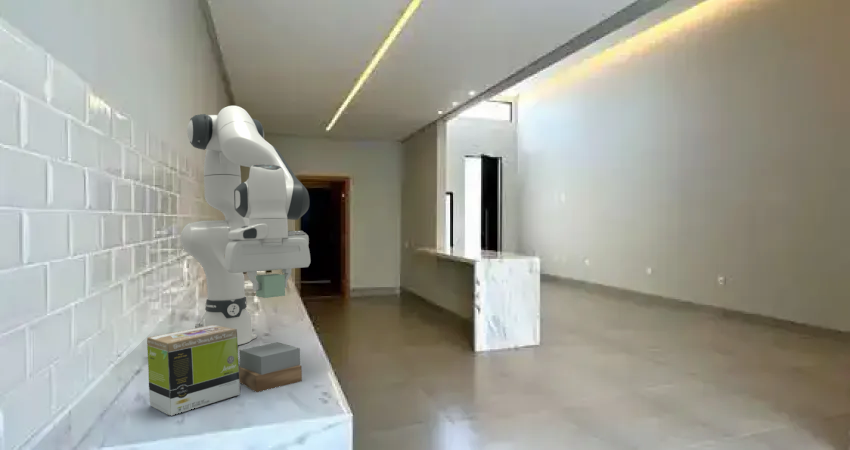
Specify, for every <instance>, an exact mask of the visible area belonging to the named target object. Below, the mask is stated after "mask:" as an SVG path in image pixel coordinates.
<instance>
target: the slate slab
mask: <svg viewBox="0 0 850 450" xmlns="http://www.w3.org/2000/svg"><path fill="white" fill-rule="evenodd" d="M298 365H300V366H301V350H300V347H297V346H293V345H289V344H286V343H281V342H273V343H267V344H262V345H257V346H252V347H248V348H244V349H239V366H240V367H241V368H244V369H247V370H250V371H252V372H255V373H258V374H261V375H263V374H267V373H271V372H275V371H279V370H283V369H286V368H290V367H294V366H298Z"/></svg>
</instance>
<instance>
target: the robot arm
mask: <svg viewBox="0 0 850 450" xmlns="http://www.w3.org/2000/svg"><path fill="white" fill-rule="evenodd" d="M264 131H265V130H264V126H263V125H262V122H261V121H259V120H258V119H255V118H252V117H251V115H250V114H249V113H248V111H247V110H246V109H244V108H242V107H241V106H238V105H228V106H226V107H225V106H224V107H223V108H221V110H219V112H218V114H206V113H202V114H201V113H200V114H195V115H193V116H192V117H191V118H190V120H189V122H188V124H187V128H186V133H187V137H188V140H189V143H190V144H191V146H192V147H193V148H196V149H198V150H203V151H205V155H204V163H203V165H204V166H203V185H204V187H203V188H204V191H203V192H204V199H205V202H206V203H207V204H208V205H209V206H210V207H212V208H213V209H216V210H218V211H219V212H221V213H222V214H223V216H224V220H222V219H221V220H219V219H218V220H217V219H216V220H214V219H213V220H199V221H194V222H189V223H186V225H185V226H184V227H183V228H182V230H181V232H180V237H179V239H180V244H181V247H182V249H183V251H185V252H186V253H187V254H188V255H190V256H192V257H193V258H194V259H196V261H197V262H198V263H199V264H200V265H201V268H202V269H203V271H204V274H205V278H206V279H205V280H206V288H207V289H206V290H207V298H206V300H205V302H206V303H205V312H204V314H203V316H202V318H201V319H200V321H199V323H195V326H194V328H200V327H205V326H209V325H217V326H222V327H227V328H233V329H237V341H238V346H240V345H244V344H247V343H249V342H251V341H252V340H255V339H257V338H258V337H257V334H255V333H253V324H252V314H251V313H250V312H249V311H248V310H247V309H246V308H247V307H248V306H247V305H248V304H247V303H248V301H247V297H246V294H245V293H246V291H245V287H246V285H245V284H246V283H245V275H244V273H247V277H248V279H249V280H250V283H252V291H254V292H256V291H260V290H262V287H261V286H262V283H258V282H257V280H256V276H257V275H258V274H257V273H258V272H265V271H276V270H282V271H281V272H282V274H283V275H285V289H287V288H288V280H289V279H290V277H291V275H292V269H300V268H309V266H310V264H311V253H310V252H311V251H310V248H309V244H310V242H309V241H310V238H309V235H308V234H307V233H306V232H304V231H303V230H289V227H288V221H289V220H294V221H297V220H299V219H300V218H302V217H303V216H304V215H305V214H306V213H307V212H308V210H309V208H310V195H309V191H308V189H307V188H306V187H305V186H304V185H303V183H302V182H301V181H300V180H299V179H298V178H297V176H296V175H295V173H294V172H293V170H292V169H291V167H290V166H289V164H288V162H287V161H286V160H285V158H284V157H283V155H282V154H281V152H280V151H279V149H278V148H277V147H275V146H274V145H272V144H270V143H269V142H268V141H267V140H265V132H264ZM241 166H242V167H246V168H249V175H248V177H247V179H246V181H242V171H241Z"/></svg>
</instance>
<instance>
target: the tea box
mask: <svg viewBox="0 0 850 450" xmlns="http://www.w3.org/2000/svg"><path fill="white" fill-rule="evenodd" d="M146 343H147V345H146V347H147V362H148V364H147V368H148V369H147V370H148V395H149V404H150V406H151V407H152V408H154V409H155V410H157V411H160V412H161V413H163V412H164V414H165V413H166V415H168V416H170V415H171V417H172V416H175V414H176V415H178V413H179V414H181V412H182V413H185V412H188V411H191V409H192V410H194V408H195V409H198V408H201V407H204V406H207V405H210V404H214V403H216V402H220V401H224V400H227V399H229V398H232V397H236V396H239V395H241V387H240V386H241V385H240V384H241V383H240V381H239V366H240V359H239V347H238V346H239V345H238V341H237V329H233V328H227V327H222V326H217V325H209V326H205V327H200V328H195V327H193V328H191V329H184V330H179V331H174V332H173V331H172V332H169V333H165V334H164V333H163V334H160V335H153V336H149V337H147V338H146Z"/></svg>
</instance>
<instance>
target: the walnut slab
mask: <svg viewBox="0 0 850 450" xmlns="http://www.w3.org/2000/svg"><path fill="white" fill-rule="evenodd" d="M302 372H303V370H302V365H301V364H300V365H298V366H294V367H290V368H286V369H283V370H279V371H275V372H271V373H267V374H263V375H261V374H258V373H255V372H252V371H250V370H247V369H244V368H241V367H240V365H239V381H240V384H242V385H243V386H244V387H246V388H248V389H250V390H252V391H253V390H254V392H255V391H256V392H255V393H259V391H260V392H264V391H267V389H268V390H272V389H276V388H280V387H284V386H287V385H291V384H296V383H301V382H302V381H303V377H302V376H303V373H302ZM279 386H280V387H279ZM275 387H276V388H275ZM271 388H272V389H271ZM263 390H264V391H263Z"/></svg>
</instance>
